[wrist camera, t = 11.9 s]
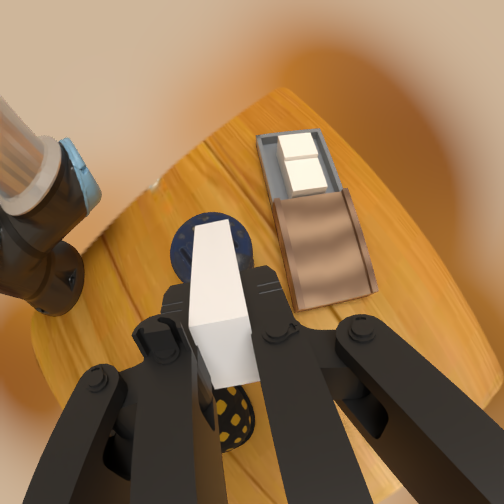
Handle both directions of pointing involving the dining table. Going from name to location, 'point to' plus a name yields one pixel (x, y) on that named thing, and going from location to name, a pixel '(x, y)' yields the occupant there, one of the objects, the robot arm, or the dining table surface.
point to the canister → (185, 240)
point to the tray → (272, 169)
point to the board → (323, 250)
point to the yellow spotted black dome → (233, 416)
